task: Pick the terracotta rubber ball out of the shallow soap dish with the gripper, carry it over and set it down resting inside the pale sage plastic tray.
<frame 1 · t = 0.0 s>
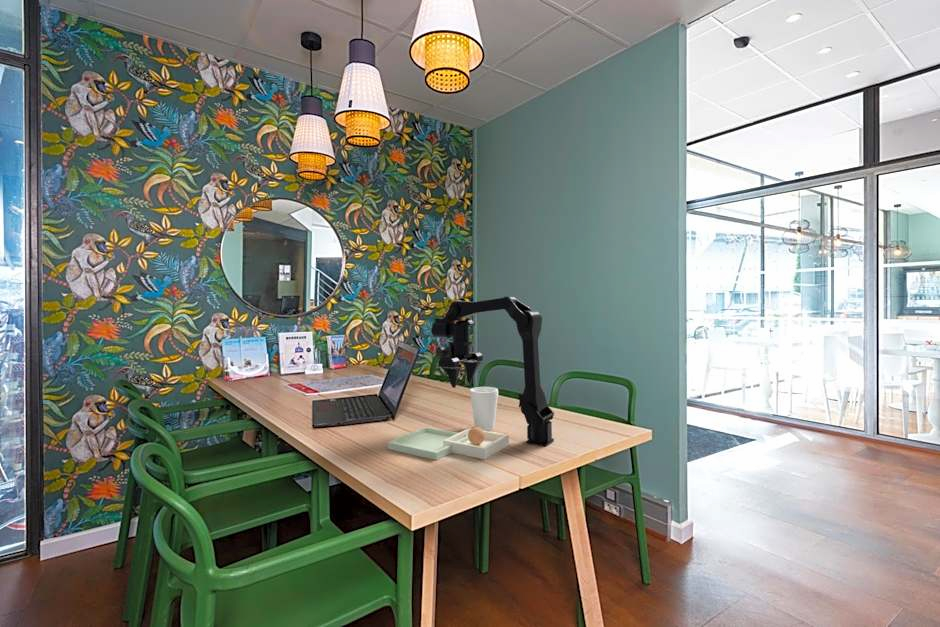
hand: (461, 385, 151), 15 cm above the table, fingers open, 9 cm apart
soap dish: (476, 447, 132), on the table
foam cup: (484, 428, 151), on the table
ball: (476, 435, 132), point 3 cm above the table, touching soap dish
tray: (430, 445, 135), on the table
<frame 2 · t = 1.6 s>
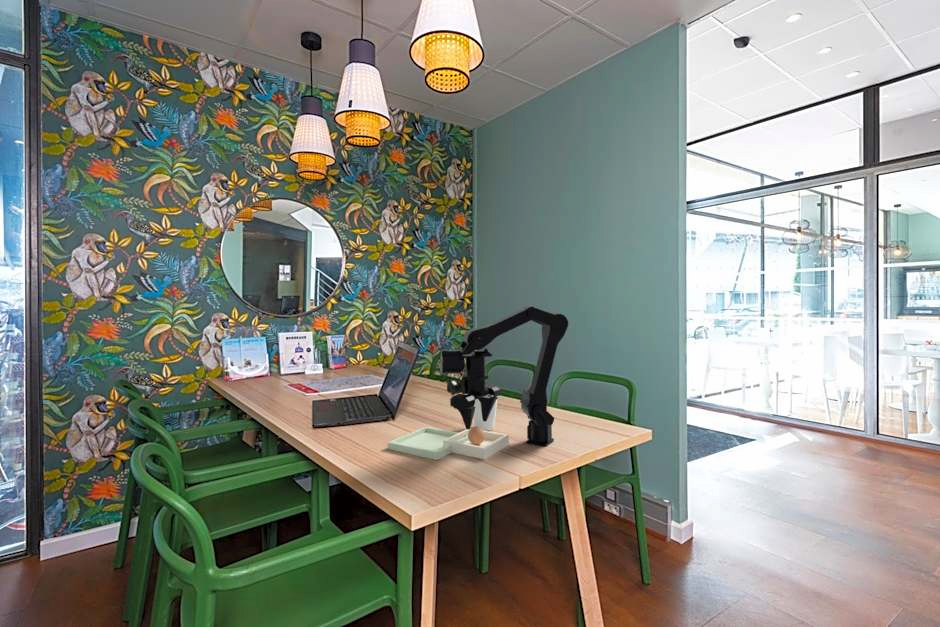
hand: (476, 425, 132), 7 cm above the table, fingers open, 9 cm apart
nothing on the table moved.
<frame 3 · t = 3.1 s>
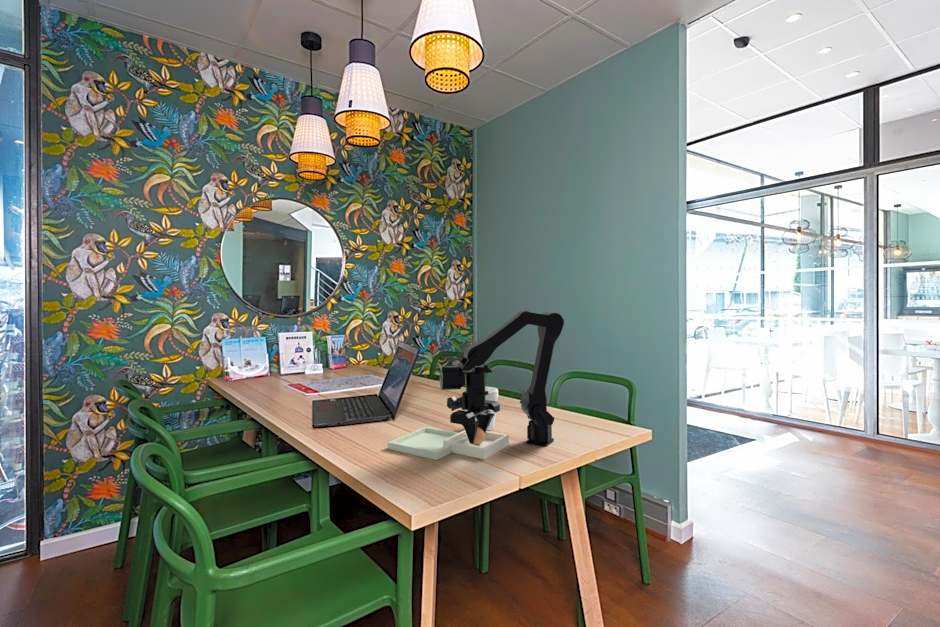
hand: (476, 440, 132), 2 cm above the table, fingers closed on ball, 5 cm apart
ball: (476, 435, 132), point 3 cm above the table, touching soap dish, gripper
everything else where it was.
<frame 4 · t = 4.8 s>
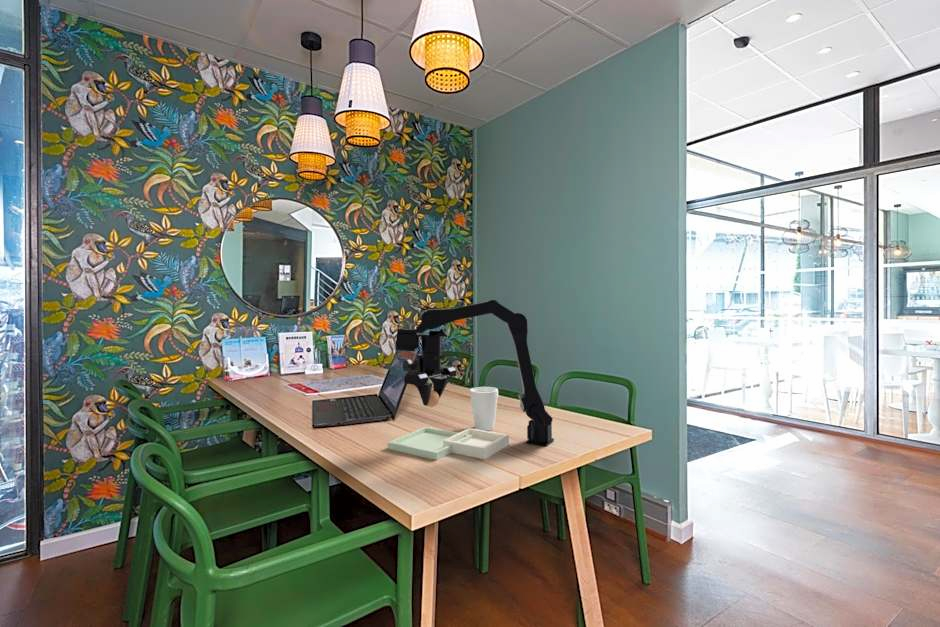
hand: (431, 403, 134), 13 cm above the table, fingers closed on ball, 5 cm apart
ball: (431, 398, 134), point 14 cm above the table, touching gripper
everything else where it was.
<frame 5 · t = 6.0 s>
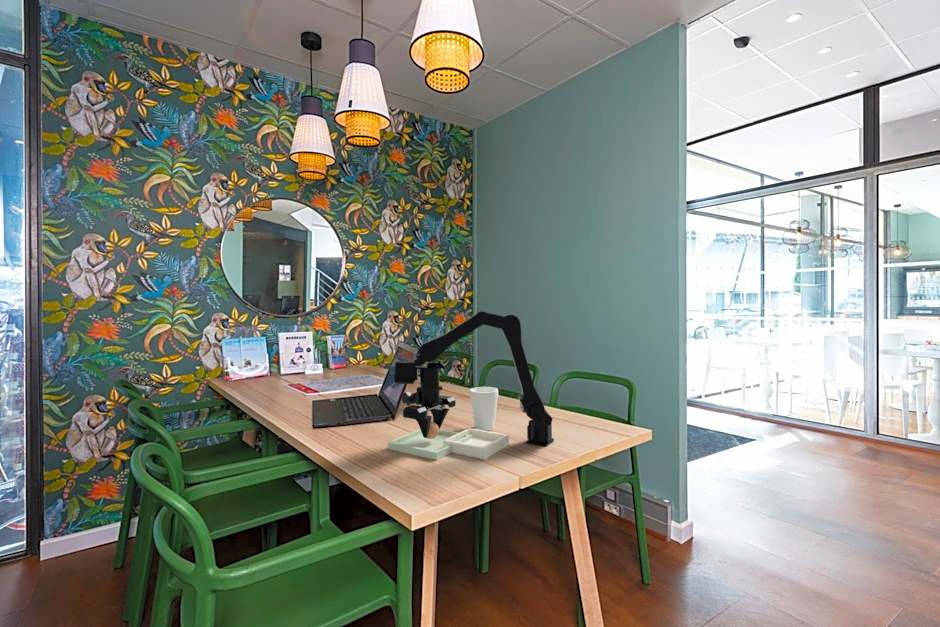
hand: (430, 435, 135), 3 cm above the table, fingers closed on ball, 5 cm apart
ball: (430, 430, 135), point 5 cm above the table, touching gripper
everything else where it was.
when the fingers open (3 cm above the table, at t = 6.6 s): ball drops 1 cm, resting on tray.
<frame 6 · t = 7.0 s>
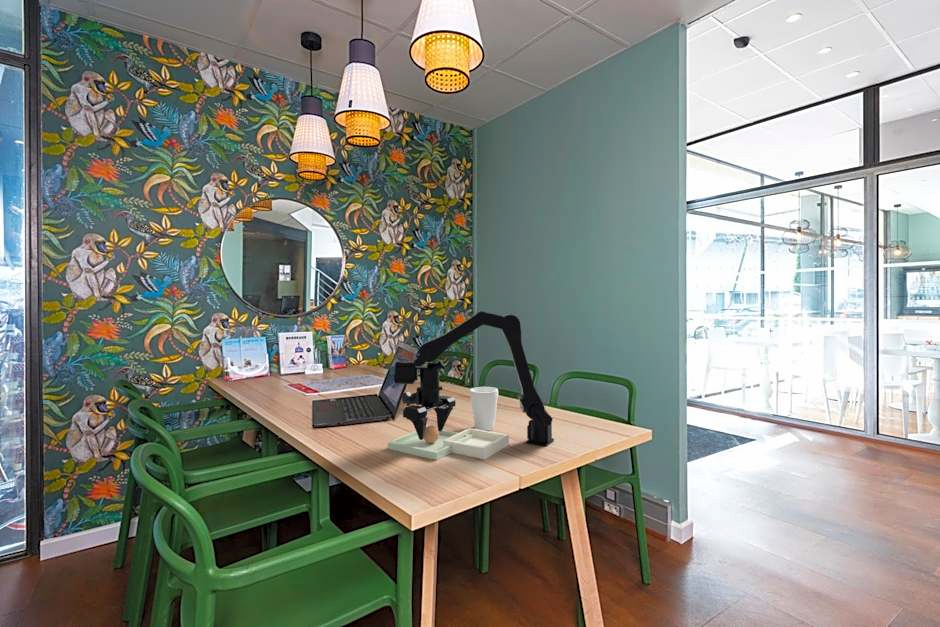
hand: (430, 435, 135), 3 cm above the table, fingers open, 9 cm apart
ball: (430, 434, 135), point 3 cm above the table, touching tray
everything else where it was.
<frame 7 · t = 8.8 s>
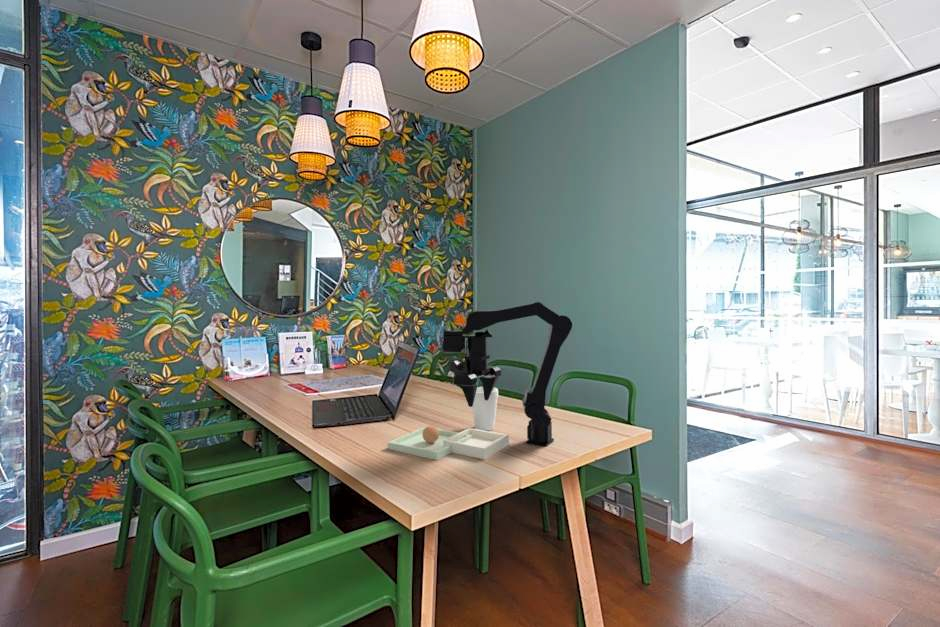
hand: (478, 403, 137), 12 cm above the table, fingers open, 9 cm apart
nothing on the table moved.
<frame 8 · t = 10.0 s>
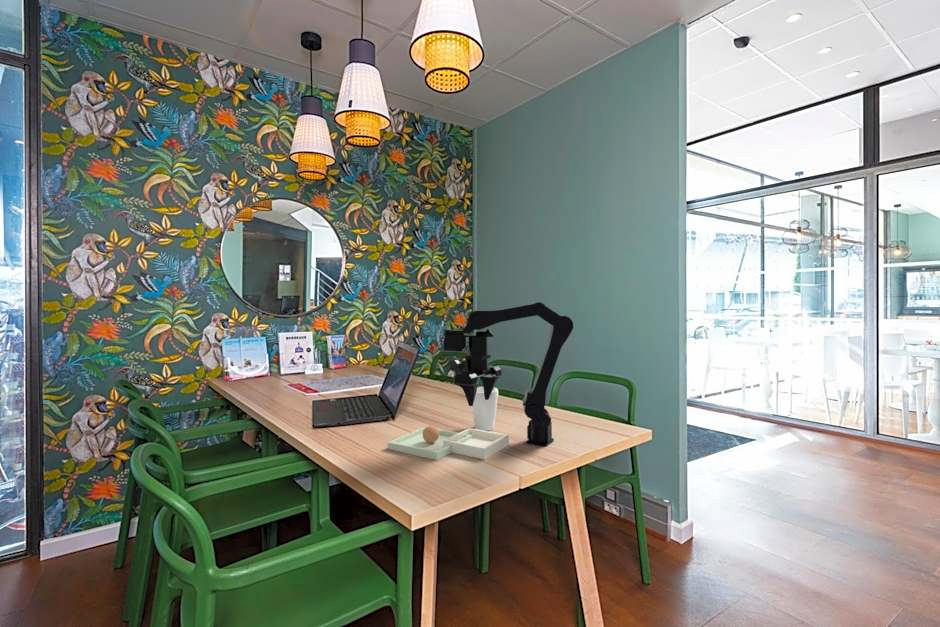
hand: (479, 402, 137), 12 cm above the table, fingers open, 9 cm apart
nothing on the table moved.
at the end: ball inside the target area on the tray (0.1 cm from its centre), point 3.3 cm above the tray's base; the gripper is holding nothing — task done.
